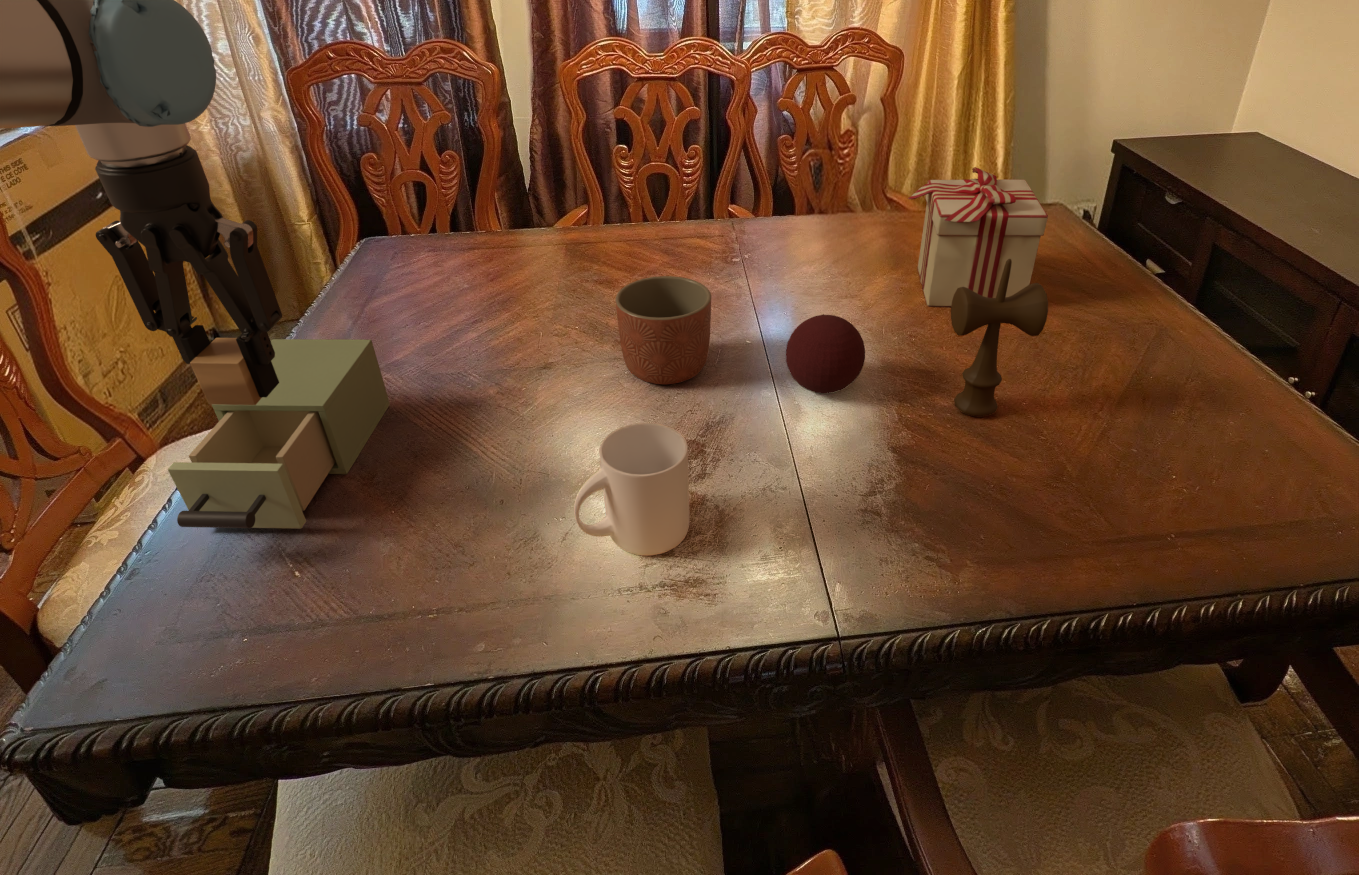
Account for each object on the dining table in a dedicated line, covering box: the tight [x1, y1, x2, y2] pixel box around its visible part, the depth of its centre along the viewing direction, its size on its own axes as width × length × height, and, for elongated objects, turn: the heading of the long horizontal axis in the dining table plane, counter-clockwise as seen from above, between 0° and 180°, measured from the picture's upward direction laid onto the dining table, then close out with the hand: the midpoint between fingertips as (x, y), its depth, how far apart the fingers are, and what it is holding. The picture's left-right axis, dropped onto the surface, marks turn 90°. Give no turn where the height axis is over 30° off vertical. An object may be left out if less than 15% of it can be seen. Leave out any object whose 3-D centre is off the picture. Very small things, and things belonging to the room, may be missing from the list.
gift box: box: [907, 166, 1049, 308], centre depth 122 cm, size 17×18×17 cm
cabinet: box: [211, 338, 391, 475], centre depth 96 cm, size 15×13×10 cm
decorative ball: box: [785, 314, 866, 395], centre depth 102 cm, size 10×10×10 cm
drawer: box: [167, 411, 336, 530], centre depth 86 cm, size 18×11×8 cm, turn 177°
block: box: [189, 337, 278, 405], centre depth 79 cm, size 5×5×5 cm
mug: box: [573, 422, 691, 556], centre depth 80 cm, size 9×12×11 cm
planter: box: [614, 275, 712, 385], centre depth 106 cm, size 12×12×11 cm
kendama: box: [950, 259, 1049, 418], centre depth 94 cm, size 6×10×20 cm, turn 90°
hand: (242, 389), depth 80 cm, fingers closed on block, 5 cm apart
